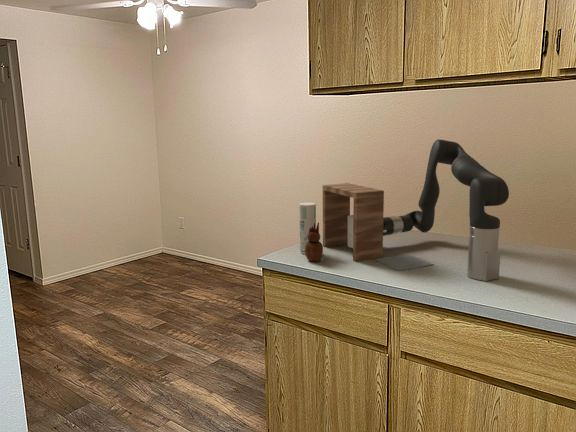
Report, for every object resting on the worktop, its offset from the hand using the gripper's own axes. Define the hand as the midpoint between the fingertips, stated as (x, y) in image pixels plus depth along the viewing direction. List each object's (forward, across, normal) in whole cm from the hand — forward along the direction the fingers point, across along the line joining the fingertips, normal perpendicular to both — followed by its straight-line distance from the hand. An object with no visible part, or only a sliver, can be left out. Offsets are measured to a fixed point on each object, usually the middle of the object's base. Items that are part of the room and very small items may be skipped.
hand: (355, 230), depth 197 cm
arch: (+2, 0, +8) cm, 9 cm away
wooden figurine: (+21, +4, +9) cm, 23 cm away
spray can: (+18, -7, +9) cm, 21 cm away
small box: (-2, 0, +7) cm, 8 cm away
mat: (-7, +22, +9) cm, 25 cm away
